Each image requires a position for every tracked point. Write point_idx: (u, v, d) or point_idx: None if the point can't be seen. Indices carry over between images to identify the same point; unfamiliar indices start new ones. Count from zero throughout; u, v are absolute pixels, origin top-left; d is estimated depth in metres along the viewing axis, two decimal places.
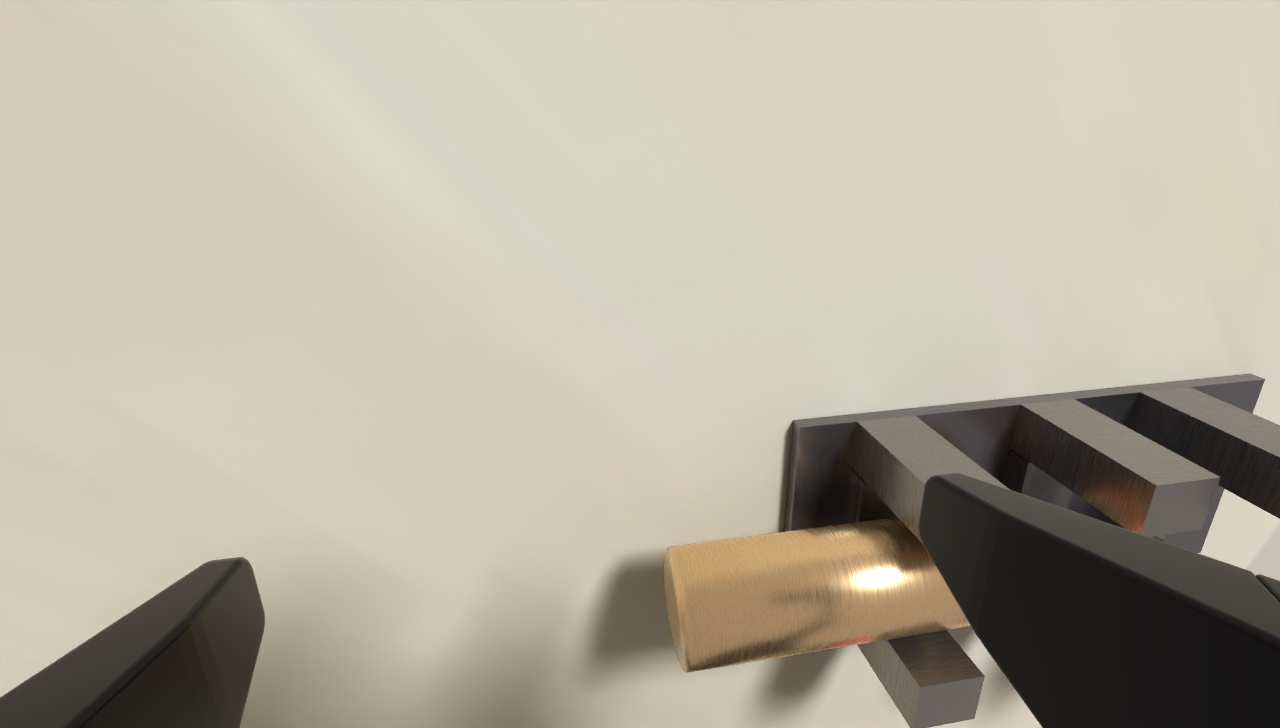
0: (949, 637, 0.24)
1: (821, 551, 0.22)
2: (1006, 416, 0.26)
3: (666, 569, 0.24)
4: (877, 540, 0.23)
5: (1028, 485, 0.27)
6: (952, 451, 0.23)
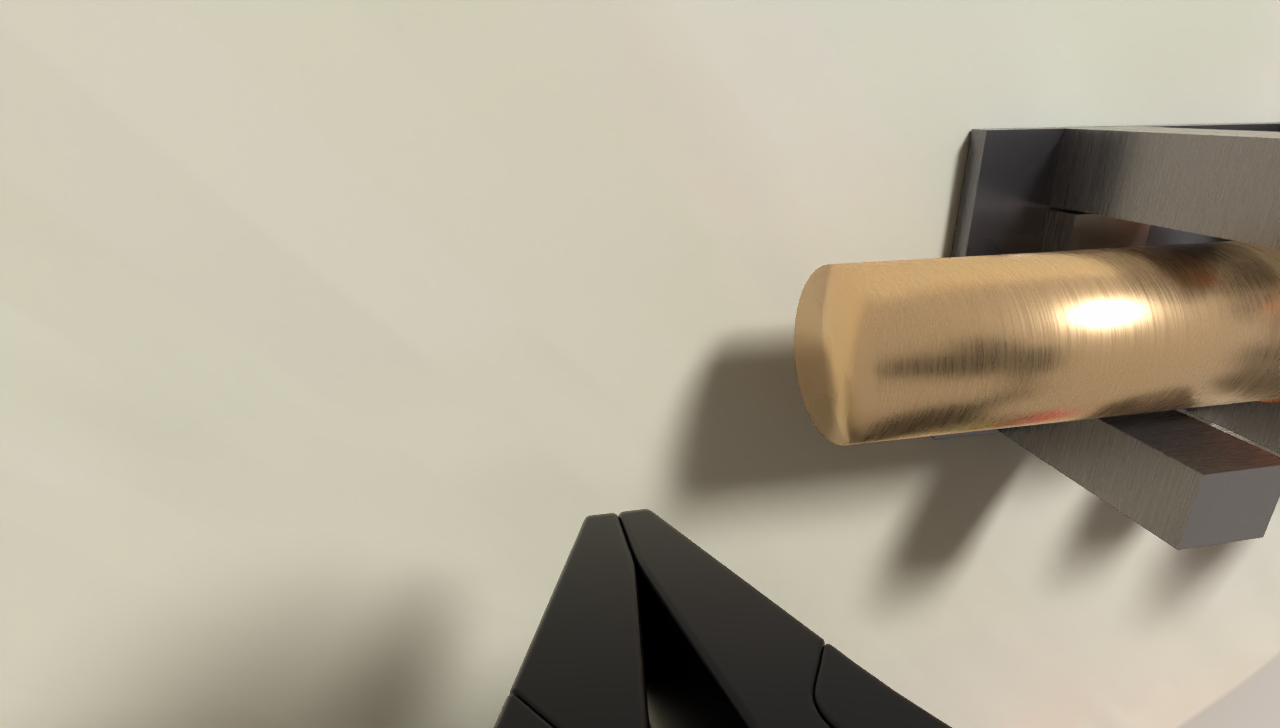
0: (1211, 428, 0.17)
1: (1055, 262, 0.14)
2: None
3: (803, 318, 0.16)
4: (1132, 255, 0.15)
5: None
6: (1236, 130, 0.15)
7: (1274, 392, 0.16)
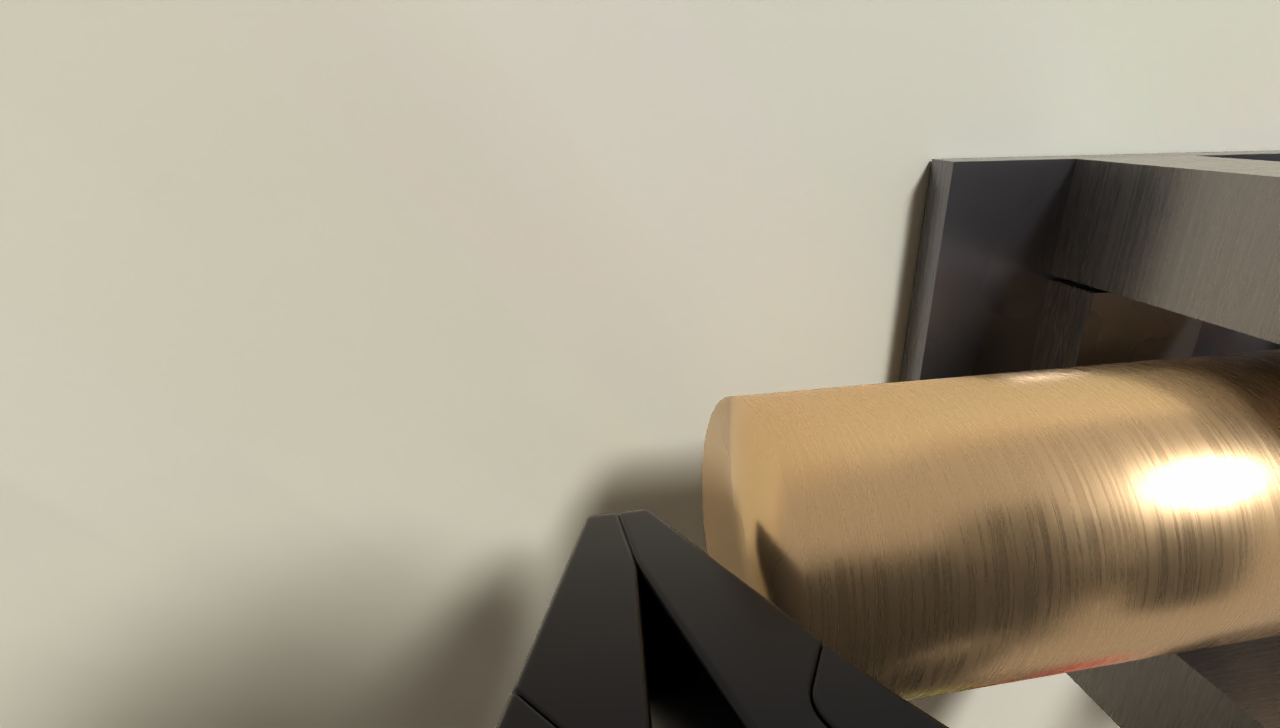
0: None
1: (1131, 397, 0.08)
2: None
3: (710, 466, 0.10)
4: (1257, 379, 0.09)
5: None
6: None
7: None
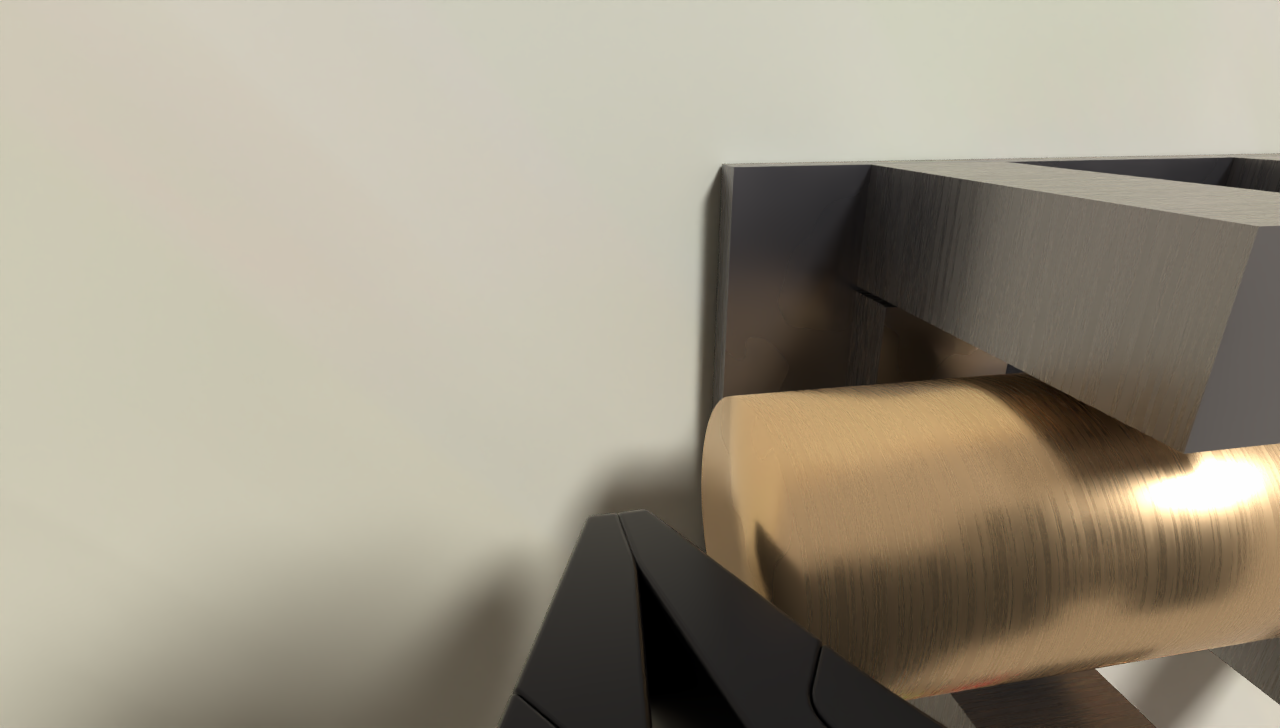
0: (1100, 681, 0.10)
1: None
2: None
3: (709, 465, 0.10)
4: None
5: None
6: (1132, 178, 0.08)
7: None
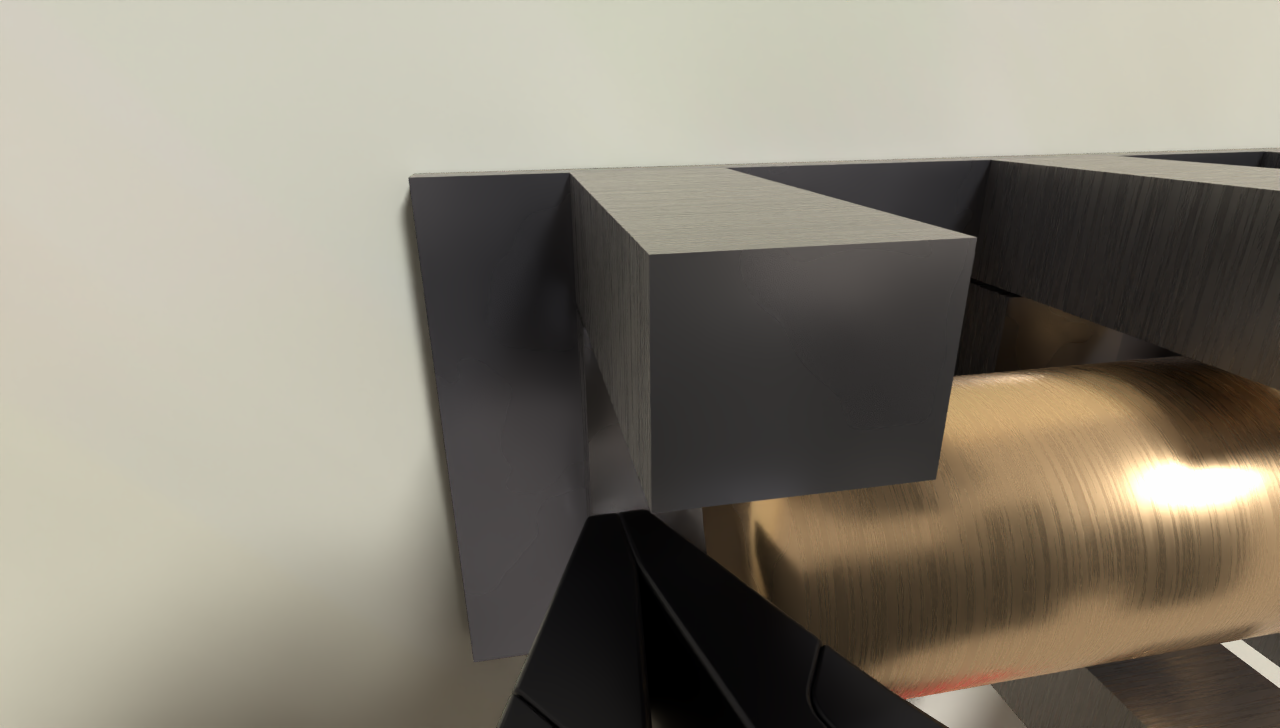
0: None
1: (1128, 396, 0.08)
2: (957, 190, 0.11)
3: None
4: None
5: (1010, 356, 0.11)
6: (772, 187, 0.08)
7: None
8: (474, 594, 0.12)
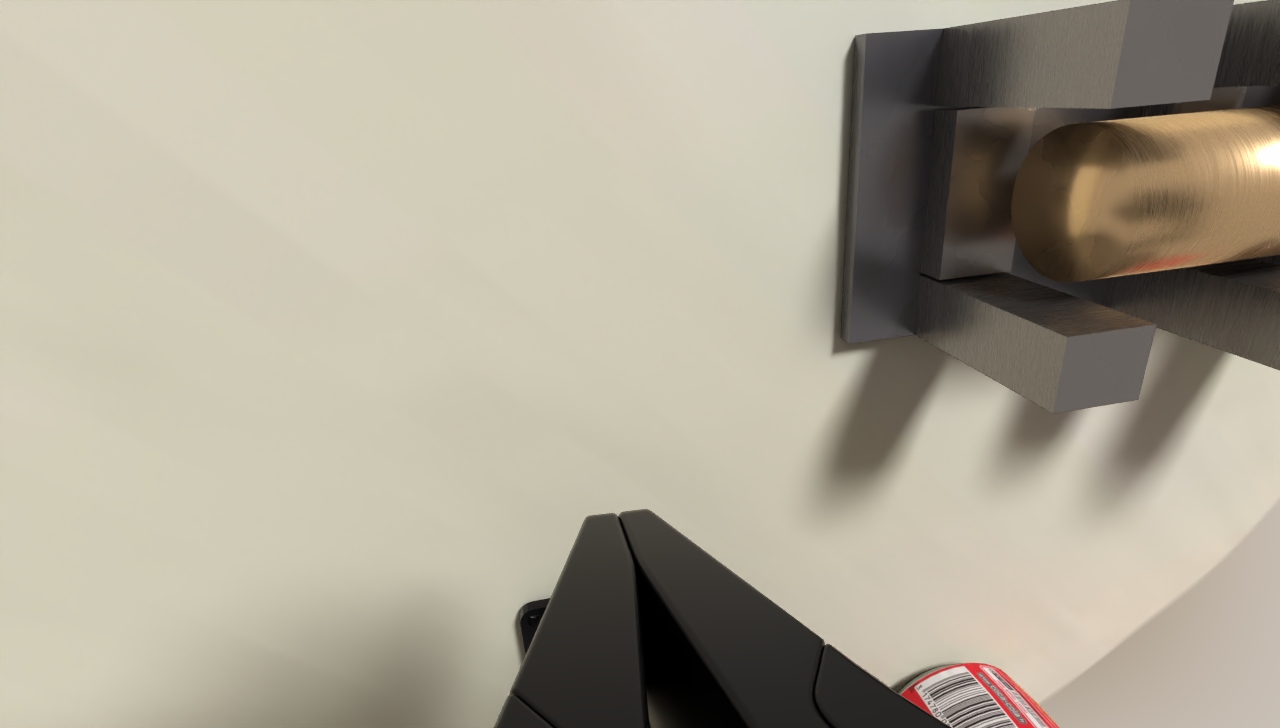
0: (1091, 303, 0.17)
1: (1263, 110, 0.17)
2: None
3: (1025, 184, 0.18)
4: None
5: None
6: None
7: None
8: (856, 295, 0.21)
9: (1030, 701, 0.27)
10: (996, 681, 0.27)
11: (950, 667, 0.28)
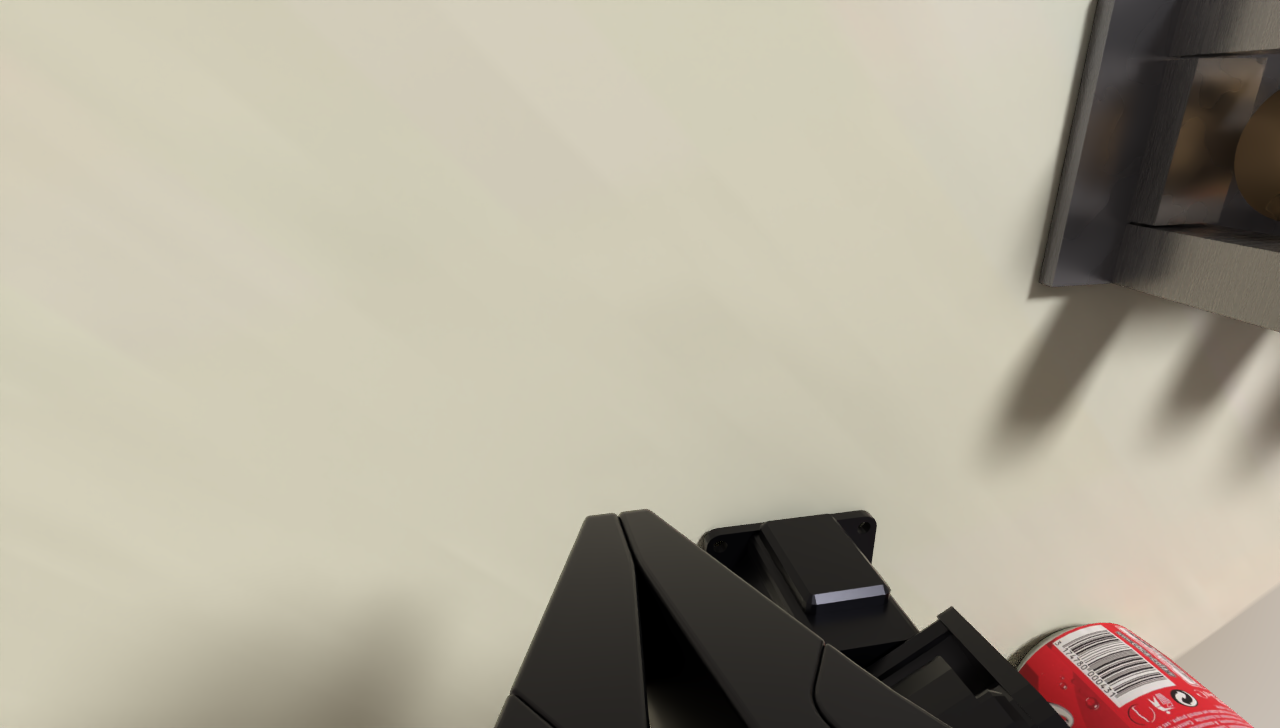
0: None
1: None
2: None
3: (1256, 132, 0.19)
4: None
5: None
6: None
7: None
8: (1066, 239, 0.22)
9: (1170, 659, 0.27)
10: (1135, 639, 0.28)
11: (1087, 625, 0.28)
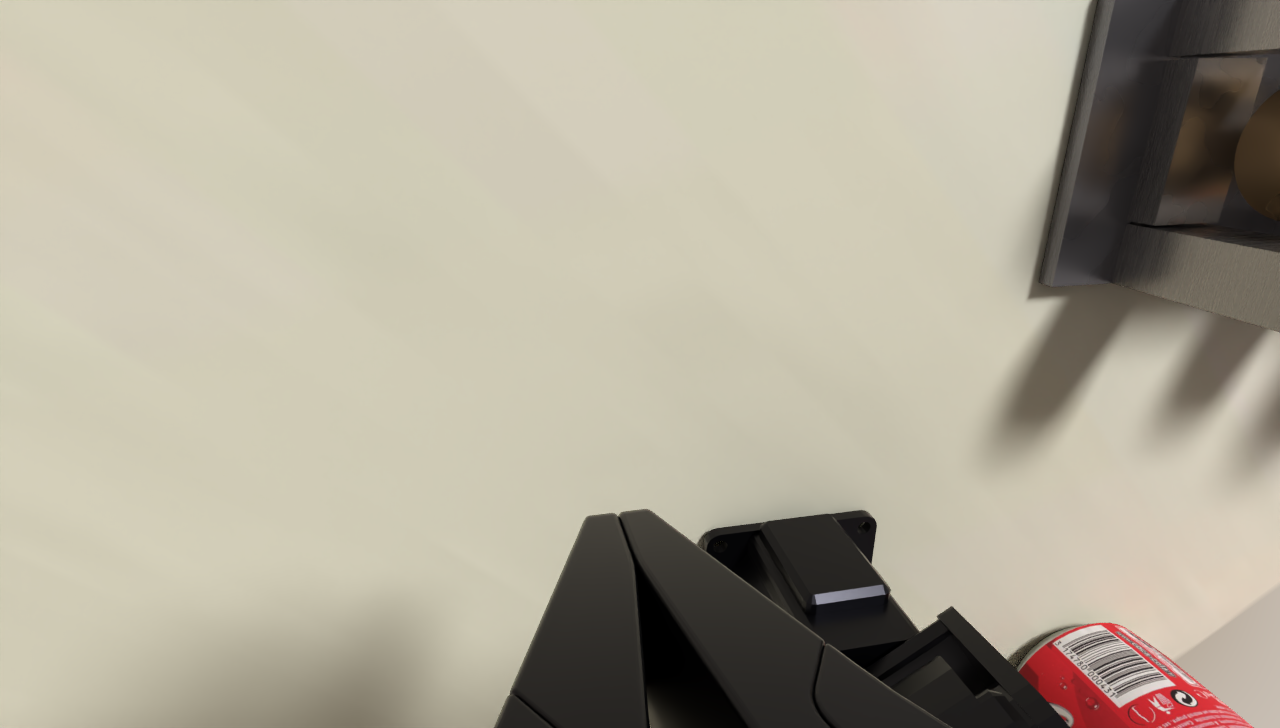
0: None
1: None
2: None
3: (1256, 132, 0.19)
4: None
5: None
6: None
7: None
8: (1066, 239, 0.22)
9: (1170, 659, 0.27)
10: (1135, 639, 0.28)
11: (1087, 625, 0.28)
